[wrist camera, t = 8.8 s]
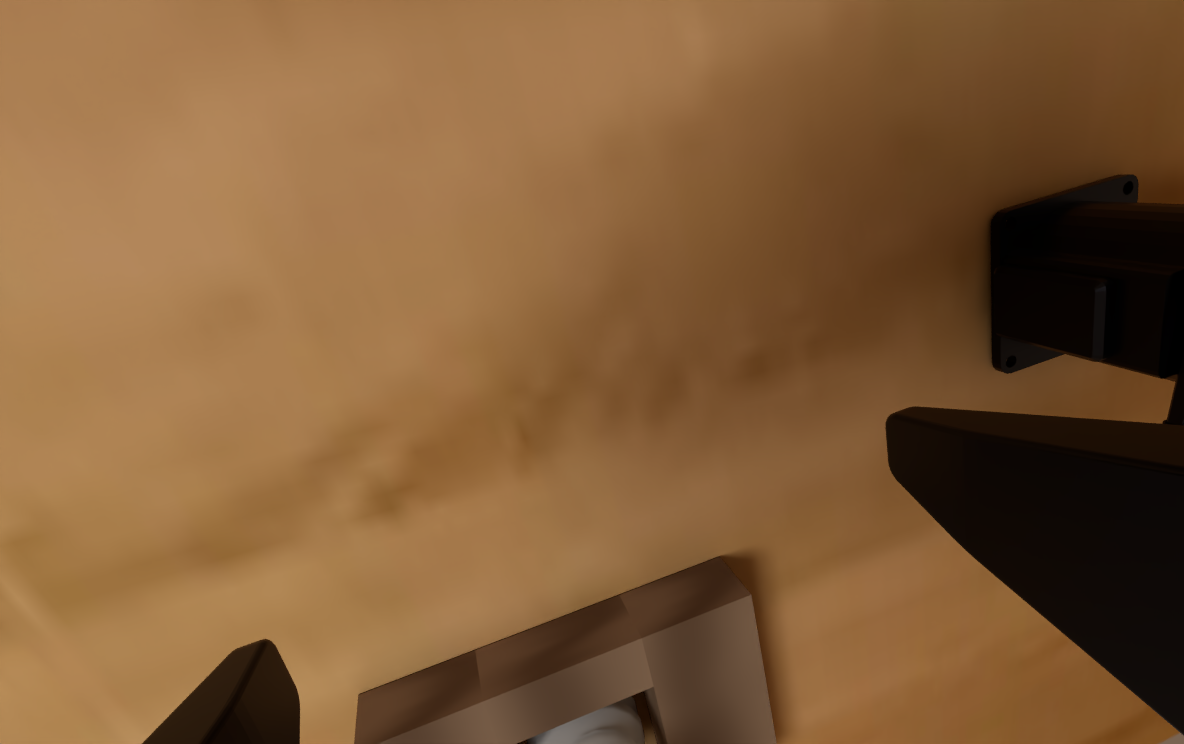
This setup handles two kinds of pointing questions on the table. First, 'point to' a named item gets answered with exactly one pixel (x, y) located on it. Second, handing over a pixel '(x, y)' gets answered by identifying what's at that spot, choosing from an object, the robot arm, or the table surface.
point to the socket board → (597, 672)
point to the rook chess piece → (599, 727)
